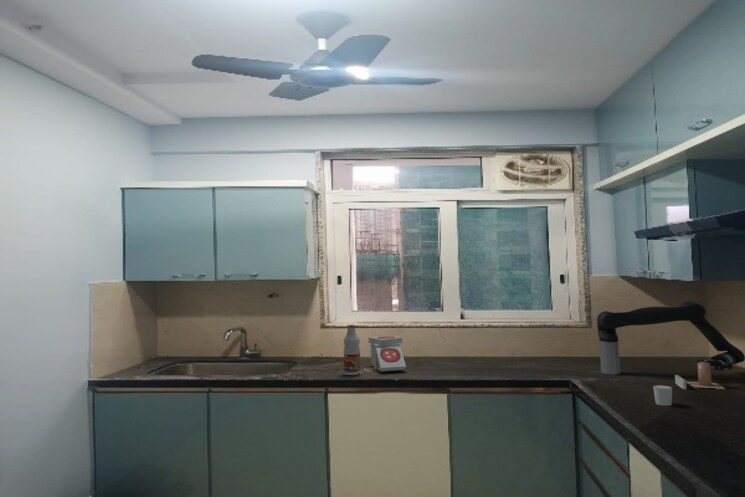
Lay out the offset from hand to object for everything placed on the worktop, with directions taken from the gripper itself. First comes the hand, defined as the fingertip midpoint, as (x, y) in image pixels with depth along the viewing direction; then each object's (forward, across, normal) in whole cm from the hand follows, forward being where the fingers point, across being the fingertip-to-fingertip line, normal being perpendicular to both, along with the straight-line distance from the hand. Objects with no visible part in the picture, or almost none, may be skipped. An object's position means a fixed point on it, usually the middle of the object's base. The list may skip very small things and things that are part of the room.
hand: (709, 366), depth 231 cm
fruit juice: (+112, -142, +7) cm, 181 cm away
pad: (+7, 0, +8) cm, 11 cm away
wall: (+16, -8, +8) cm, 19 cm away
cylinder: (+7, 0, +8) cm, 10 cm away
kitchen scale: (+88, -139, +7) cm, 165 cm away
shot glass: (+53, -1, +8) cm, 54 cm away
